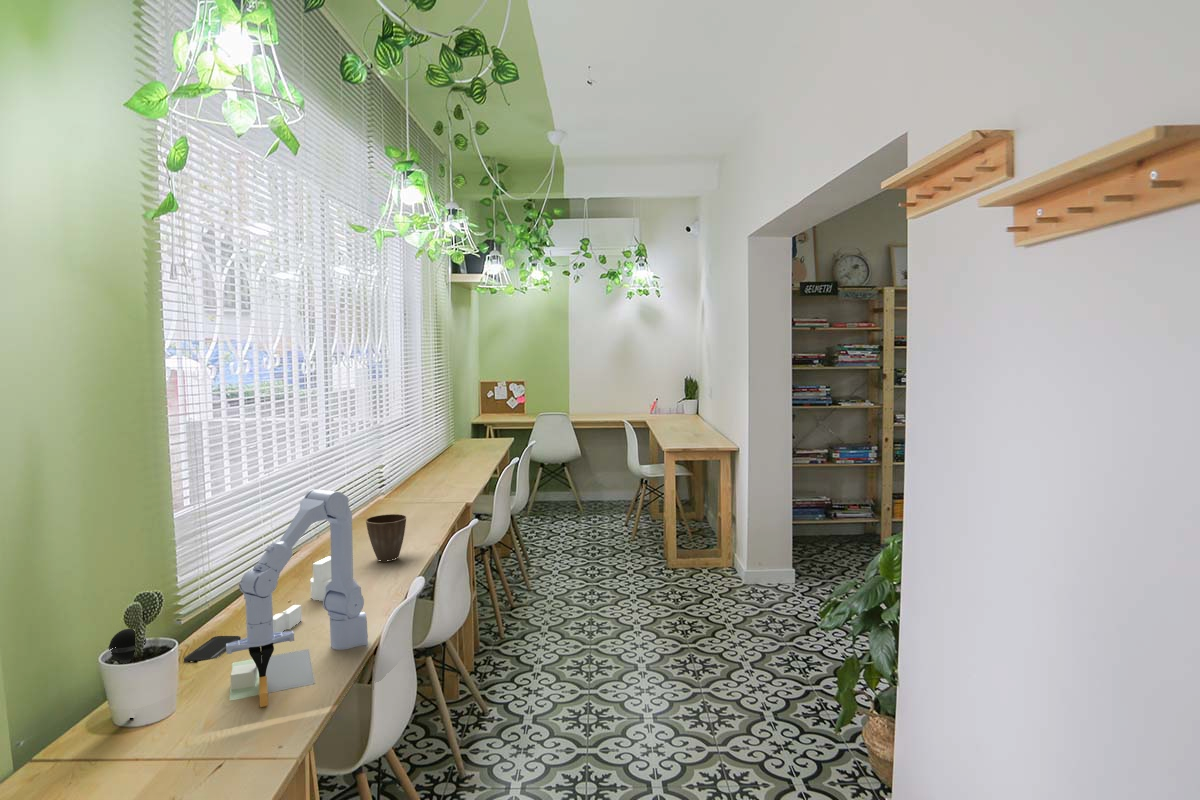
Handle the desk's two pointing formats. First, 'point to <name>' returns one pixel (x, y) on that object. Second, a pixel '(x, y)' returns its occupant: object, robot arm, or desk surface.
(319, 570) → the cylinder with rectangular tab
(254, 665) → the plug block
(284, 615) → the napkin holder
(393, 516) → the plant pot
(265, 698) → the bar
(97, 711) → the desk surface
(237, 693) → the green and grey board
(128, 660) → the black bowler hat
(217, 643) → the phone
